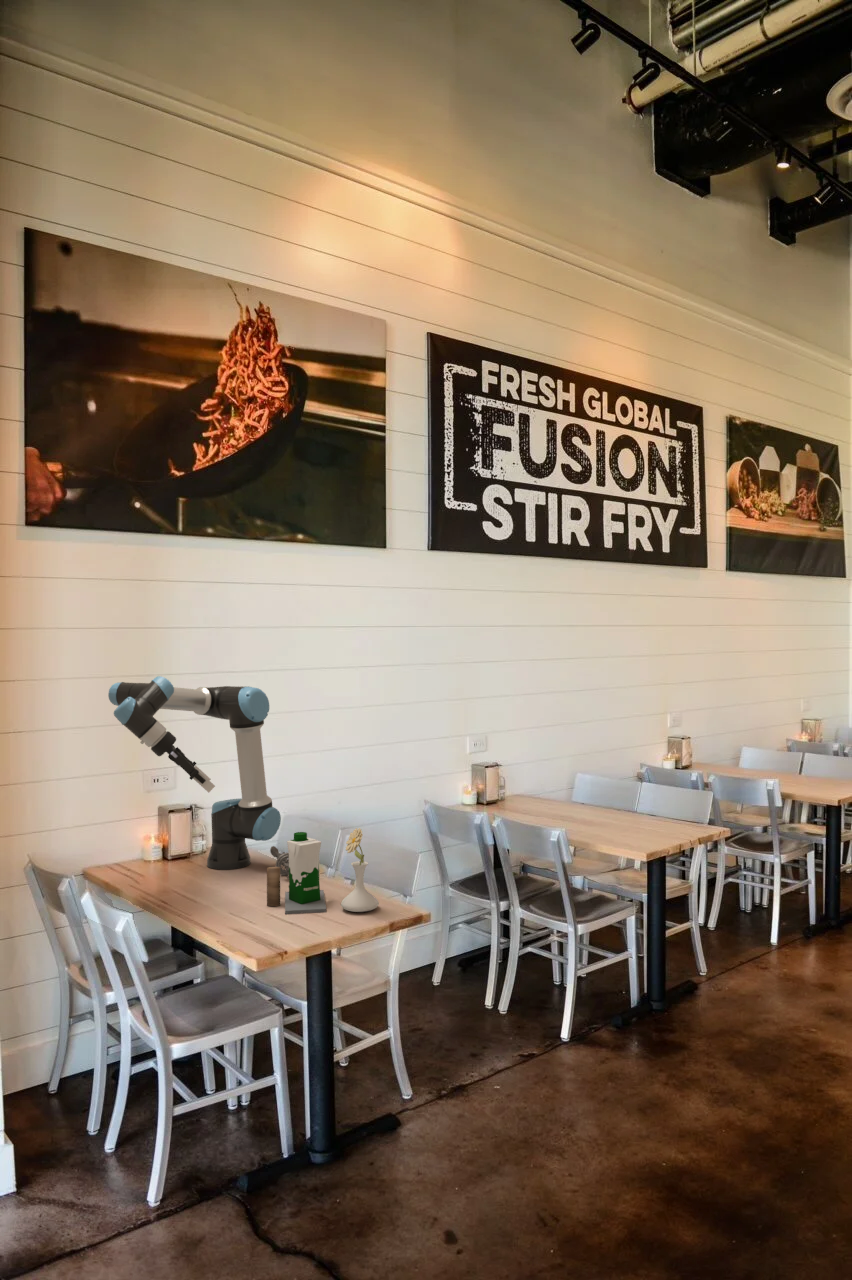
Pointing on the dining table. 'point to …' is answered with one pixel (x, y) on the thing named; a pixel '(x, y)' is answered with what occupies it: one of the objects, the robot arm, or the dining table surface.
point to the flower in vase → (358, 880)
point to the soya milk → (304, 868)
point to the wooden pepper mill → (273, 886)
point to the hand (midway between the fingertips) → (209, 785)
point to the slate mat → (305, 905)
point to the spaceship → (281, 860)
